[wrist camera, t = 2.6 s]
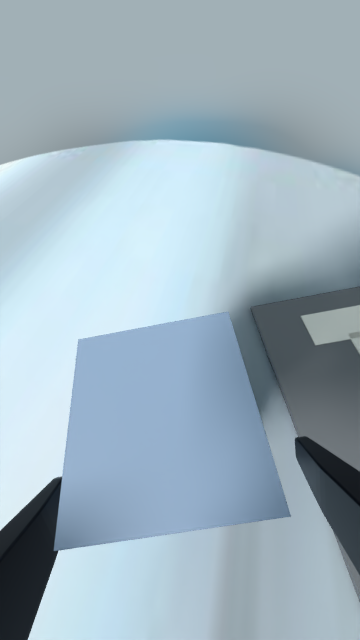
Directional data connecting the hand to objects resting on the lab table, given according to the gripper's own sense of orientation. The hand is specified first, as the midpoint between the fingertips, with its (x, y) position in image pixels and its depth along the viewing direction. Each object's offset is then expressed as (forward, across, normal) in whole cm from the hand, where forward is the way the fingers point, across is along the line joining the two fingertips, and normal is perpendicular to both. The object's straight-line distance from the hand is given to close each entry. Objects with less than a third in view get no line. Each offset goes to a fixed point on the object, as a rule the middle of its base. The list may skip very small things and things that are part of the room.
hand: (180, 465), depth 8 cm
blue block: (+8, 0, +5) cm, 9 cm away
